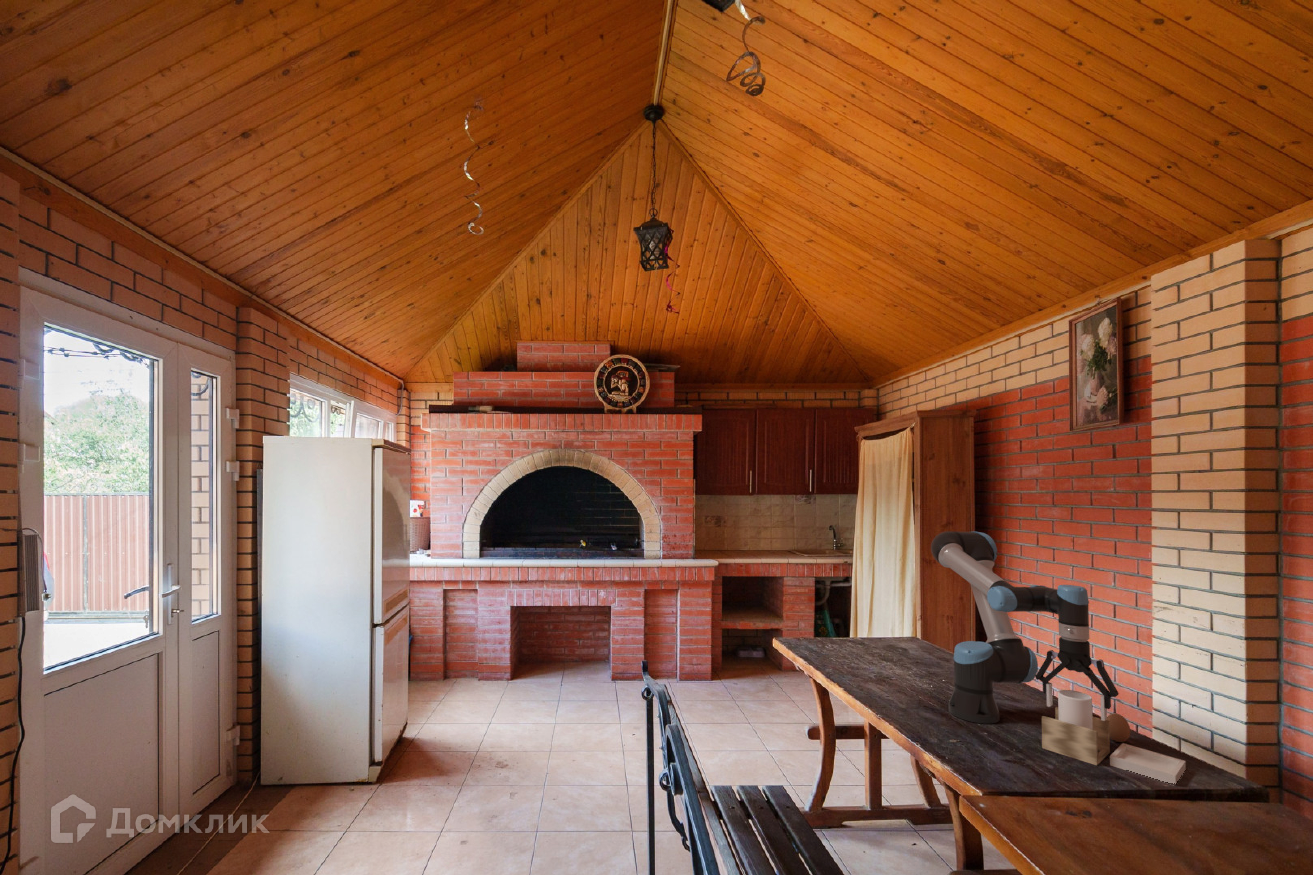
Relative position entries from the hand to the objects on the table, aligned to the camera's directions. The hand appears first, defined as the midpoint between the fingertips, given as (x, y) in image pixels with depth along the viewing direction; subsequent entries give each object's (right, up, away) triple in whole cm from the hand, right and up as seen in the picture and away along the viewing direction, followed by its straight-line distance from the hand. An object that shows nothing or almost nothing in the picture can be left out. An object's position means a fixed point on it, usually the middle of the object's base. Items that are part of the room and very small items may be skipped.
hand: (1076, 712), depth 177 cm
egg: (+18, -12, +7) cm, 23 cm away
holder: (0, -11, 0) cm, 11 cm away
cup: (0, -11, 0) cm, 11 cm away
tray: (+13, -11, -10) cm, 19 cm away
